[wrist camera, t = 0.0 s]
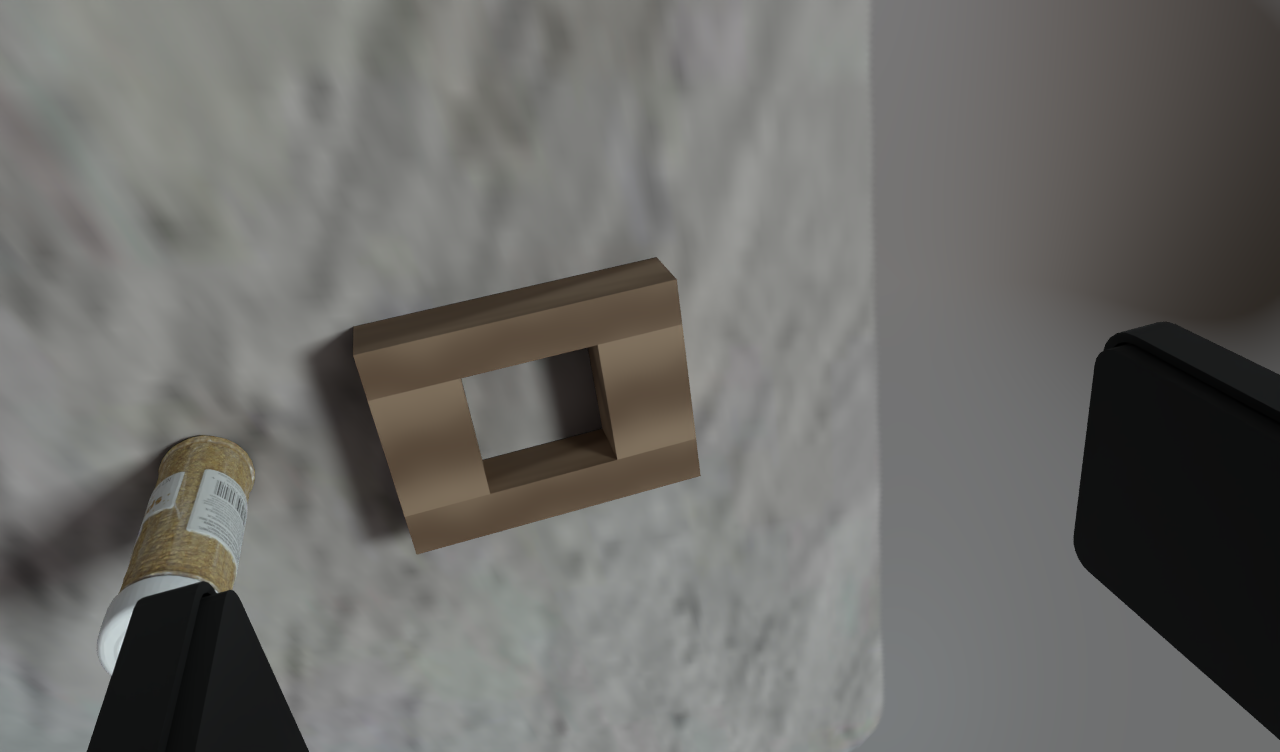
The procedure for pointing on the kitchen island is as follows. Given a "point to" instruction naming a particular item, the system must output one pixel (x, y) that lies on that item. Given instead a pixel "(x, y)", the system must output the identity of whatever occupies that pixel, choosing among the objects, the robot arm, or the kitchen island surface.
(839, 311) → the kitchen island surface
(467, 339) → the walnut holder
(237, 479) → the sprinkles bottle
